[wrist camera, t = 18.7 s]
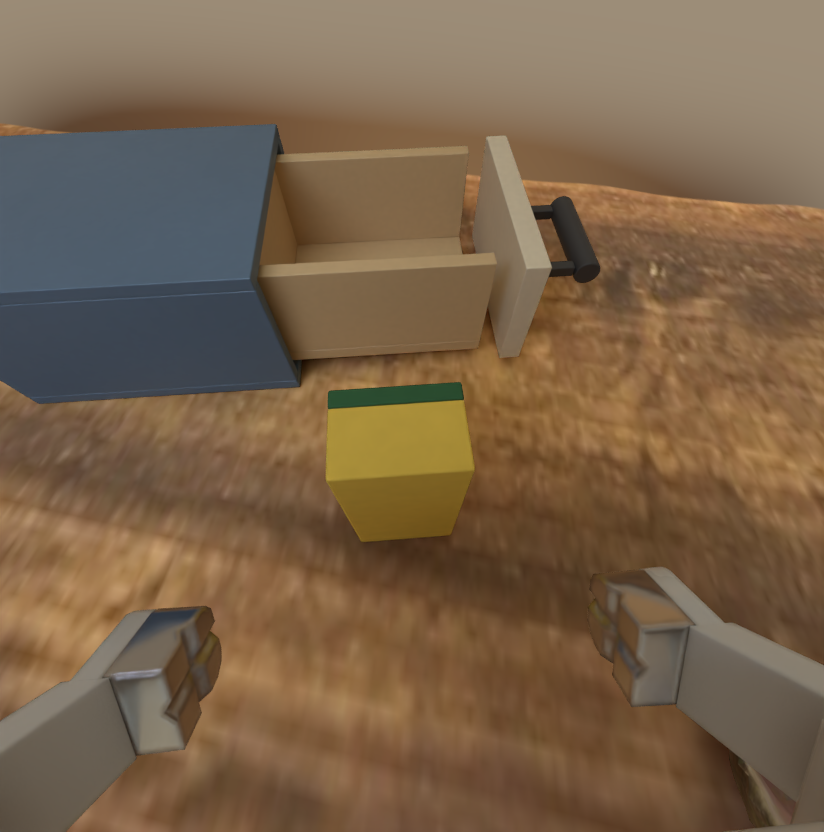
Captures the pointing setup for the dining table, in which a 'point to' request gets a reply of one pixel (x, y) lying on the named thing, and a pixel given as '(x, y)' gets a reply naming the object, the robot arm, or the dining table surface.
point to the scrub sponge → (399, 459)
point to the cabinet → (137, 264)
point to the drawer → (408, 252)
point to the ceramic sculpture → (761, 796)
